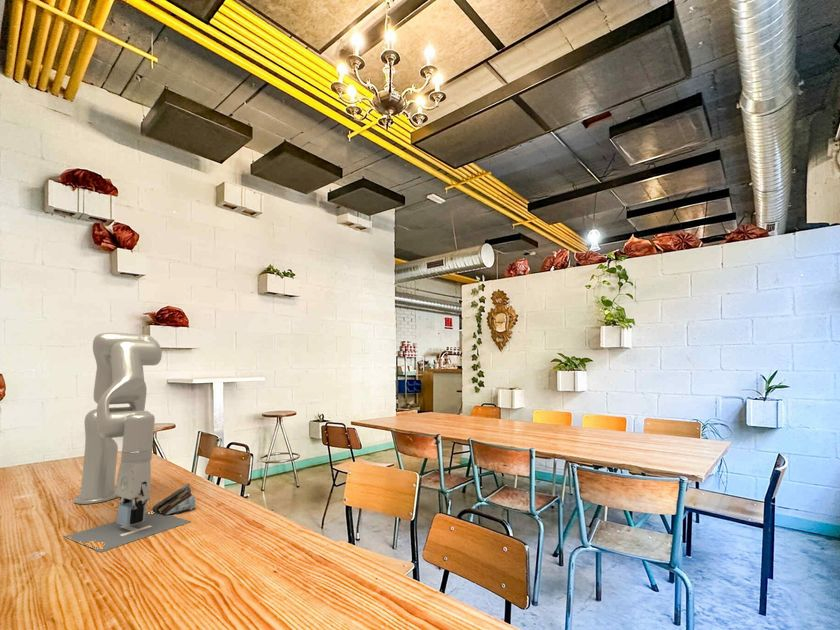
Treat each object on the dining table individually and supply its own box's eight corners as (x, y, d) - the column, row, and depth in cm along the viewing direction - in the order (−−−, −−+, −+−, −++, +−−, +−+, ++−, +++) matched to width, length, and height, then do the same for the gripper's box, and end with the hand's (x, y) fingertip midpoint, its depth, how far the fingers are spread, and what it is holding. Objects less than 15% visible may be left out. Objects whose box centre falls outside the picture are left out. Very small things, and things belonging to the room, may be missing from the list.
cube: (116, 523, 119) (118, 505, 120) (135, 517, 123) (136, 500, 124) (125, 526, 117) (127, 508, 117) (144, 520, 121) (146, 503, 122)
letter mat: (63, 536, 114) (63, 536, 114) (153, 510, 135) (153, 510, 135) (100, 552, 104) (100, 551, 104) (191, 521, 125) (191, 521, 125)
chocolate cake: (159, 520, 127) (193, 487, 134) (149, 509, 131) (182, 477, 138) (177, 533, 133) (208, 501, 140) (167, 522, 137) (198, 491, 144)
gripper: (107, 455, 123) (101, 519, 121) (139, 462, 115) (133, 531, 113) (134, 451, 130) (129, 512, 127) (166, 457, 121) (161, 522, 119)
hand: (131, 520), depth 120 cm, fingers closed on cube, 4 cm apart
